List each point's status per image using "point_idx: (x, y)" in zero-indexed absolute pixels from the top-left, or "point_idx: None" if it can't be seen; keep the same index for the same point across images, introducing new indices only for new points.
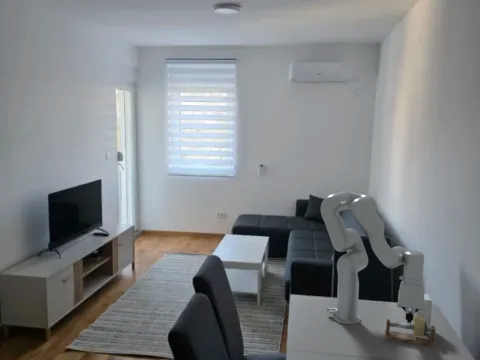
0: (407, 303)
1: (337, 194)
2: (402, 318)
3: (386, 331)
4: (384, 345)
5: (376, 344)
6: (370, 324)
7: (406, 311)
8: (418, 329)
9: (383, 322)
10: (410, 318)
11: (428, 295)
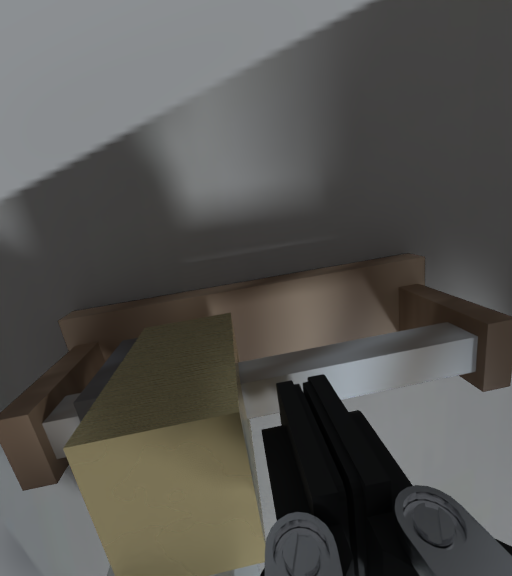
0: None
1: None
2: None
3: (437, 290)
4: (413, 160)
5: (466, 148)
6: (485, 408)
7: (459, 538)
8: (185, 347)
9: (412, 468)
10: (309, 422)
11: None
